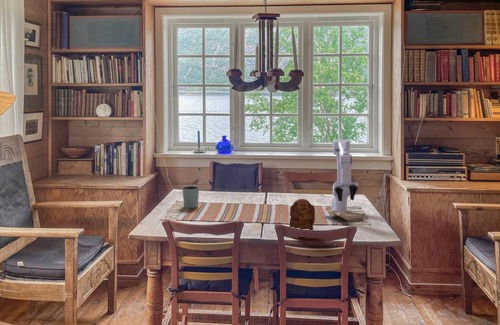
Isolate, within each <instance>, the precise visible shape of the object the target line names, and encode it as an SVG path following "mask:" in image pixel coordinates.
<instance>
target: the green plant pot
mask: <svg viewBox="0 0 500 325" xmlns="http://www.w3.org/2000/svg"><path fill="white" fill-rule="evenodd" d="M181 190H182V197H183V198H182V199H183V207H184V208H186V209H196V208H198V207H199V193H200V192H199V191H200V187H199V186H197V185H188V186H187V185H186V186H183V187H182V188H181ZM195 207H196V208H195Z"/></svg>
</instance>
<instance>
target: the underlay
mask: <svg viewBox="0 0 500 325" xmlns="http://www.w3.org/2000/svg"><path fill="white" fill-rule="evenodd" d="M321 218H325V219H327V220H328V221H331V222H333V223H334V224H346V223H353V222H354V223H355V222H357V221H348V220H345V219H343V218H341V217H338V216H336V215H334V214H332V215H321ZM363 221H364V222H365V219H363V220H362V221H361V222H363Z"/></svg>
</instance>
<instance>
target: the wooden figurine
mask: <svg viewBox="0 0 500 325" xmlns="http://www.w3.org/2000/svg"><path fill="white" fill-rule="evenodd" d="M315 214H316V211H315V205H313V204H311V202H310V201H309V200H307V199H305V198H299V199H297V200H295V201H294V202H293V203H292V205H291V206H290V207H289V217H290V218H289V226H290V227H294V228H300V229H309V230H313V231H314V224H315V221H316V217H315V216H316V215H315ZM289 226H288V227H289ZM290 227H289V228H290Z"/></svg>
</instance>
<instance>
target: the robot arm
mask: <svg viewBox="0 0 500 325" xmlns="http://www.w3.org/2000/svg"><path fill="white" fill-rule="evenodd" d="M350 147H351V141H350V139H349V138H348V139H335V138H334V139H333V141H332V153H333V155H335V156H336V164H337V166H336V170H337V171H336V173H337V174H336V175H337V176H336V177H337V180H336V181H334V182H333V185H332V196H333V197H332V198H331V208H330V209H333V210H335V211H337V212H344V211H349V212H351V211H350V210H348V198H349V200H351V201H354V200H355V196H356V193H357V191H358V189H359V188H358V187H359V182H357V181H354V182H353V181H352V164H353V155H352V154H350Z"/></svg>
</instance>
